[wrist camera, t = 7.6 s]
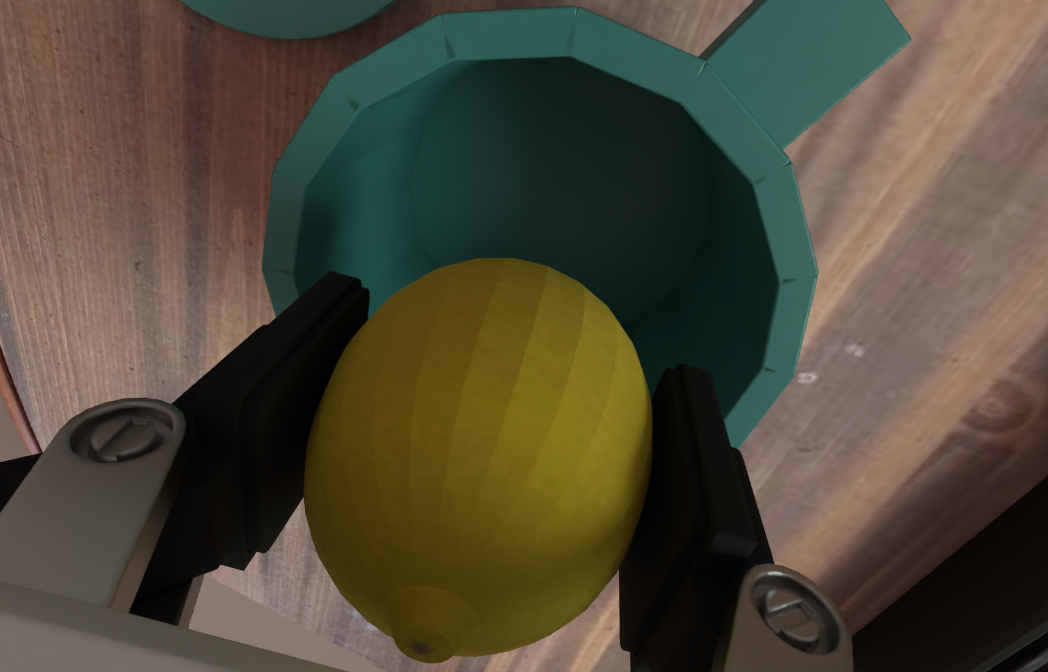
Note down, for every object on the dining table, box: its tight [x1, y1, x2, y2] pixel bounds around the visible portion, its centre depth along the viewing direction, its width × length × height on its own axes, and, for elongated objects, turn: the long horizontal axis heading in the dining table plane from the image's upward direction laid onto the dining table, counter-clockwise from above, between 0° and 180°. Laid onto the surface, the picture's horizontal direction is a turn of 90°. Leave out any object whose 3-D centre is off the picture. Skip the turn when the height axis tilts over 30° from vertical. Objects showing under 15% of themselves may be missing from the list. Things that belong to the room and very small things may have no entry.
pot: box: [262, 0, 911, 449], centre depth 17 cm, size 13×18×10 cm
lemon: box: [303, 258, 653, 663], centre depth 10 cm, size 6×6×8 cm
